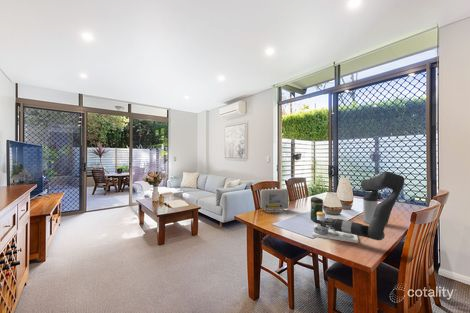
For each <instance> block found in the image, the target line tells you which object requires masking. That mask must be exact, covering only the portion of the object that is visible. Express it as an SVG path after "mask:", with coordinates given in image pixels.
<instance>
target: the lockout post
mask: <svg viewBox="0 0 470 313" xmlns="http://www.w3.org/2000/svg"><path fill="white" fill-rule="evenodd" d="M325 218H326V212H317V220H320V221H325ZM316 224H317V230H318V231H325V227H323V226H320V225H321V224H318V223H316Z"/></svg>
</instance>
